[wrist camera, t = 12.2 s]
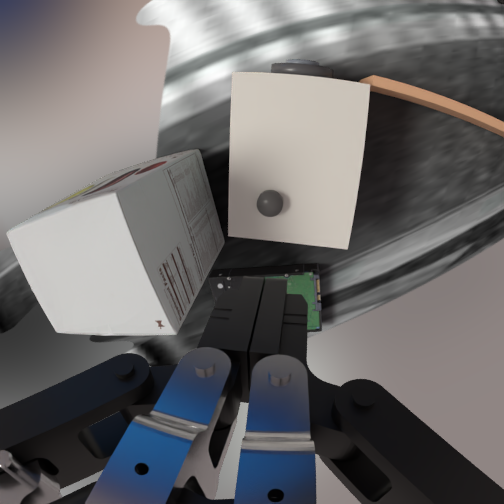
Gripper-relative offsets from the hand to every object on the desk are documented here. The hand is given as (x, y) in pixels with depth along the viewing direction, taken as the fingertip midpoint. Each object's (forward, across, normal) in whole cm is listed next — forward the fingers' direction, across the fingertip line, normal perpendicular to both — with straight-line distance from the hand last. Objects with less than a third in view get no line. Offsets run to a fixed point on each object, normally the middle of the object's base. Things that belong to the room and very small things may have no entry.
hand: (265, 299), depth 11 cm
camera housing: (+27, 0, -1) cm, 27 cm away
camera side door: (+26, -18, -9) cm, 33 cm away
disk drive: (+28, +3, +20) cm, 34 cm away
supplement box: (+27, +18, +7) cm, 33 cm away
